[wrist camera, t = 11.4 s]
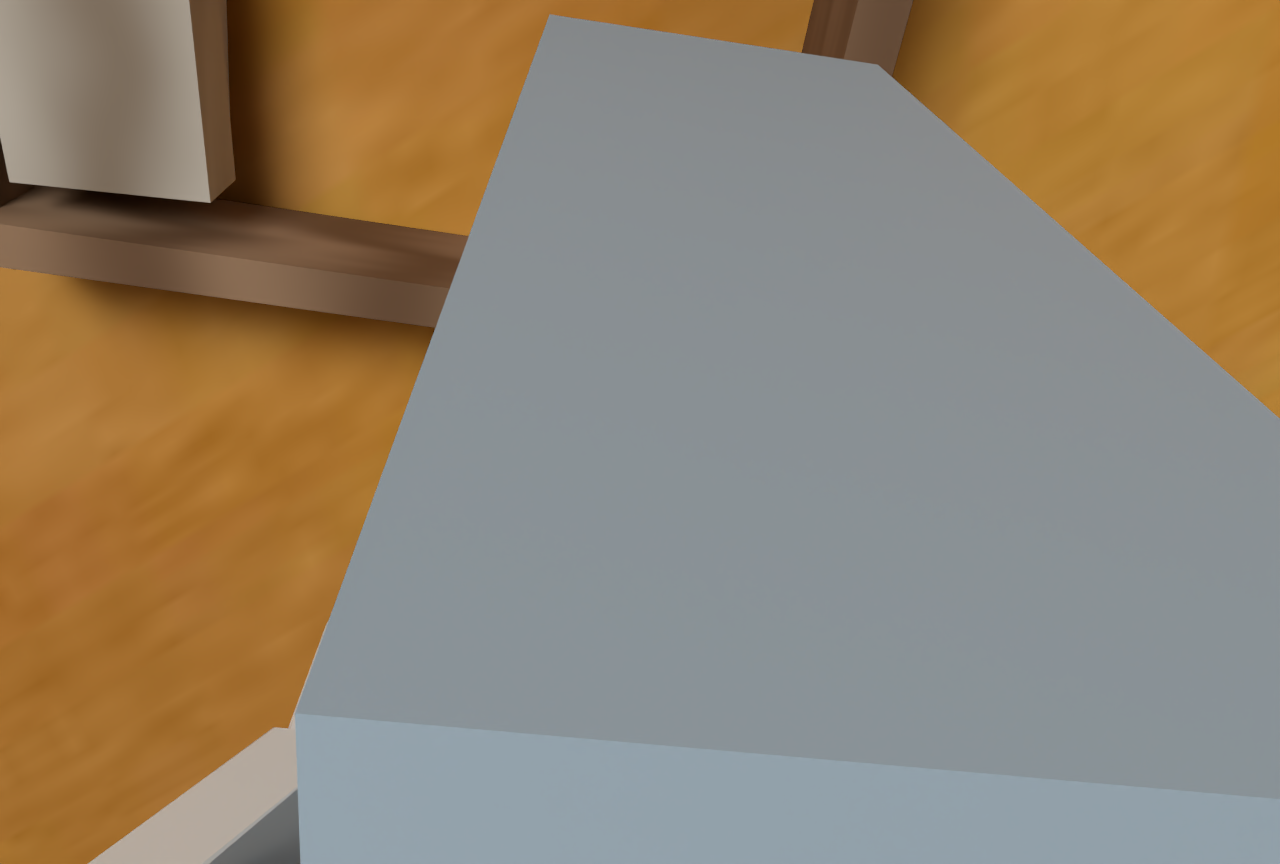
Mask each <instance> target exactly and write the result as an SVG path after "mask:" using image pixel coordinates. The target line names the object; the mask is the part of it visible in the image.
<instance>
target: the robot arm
mask: <svg viewBox="0 0 1280 864" xmlns="http://www.w3.org/2000/svg"><path fill="white" fill-rule="evenodd" d="M327 624H328V622H327ZM327 624H326V627H327ZM326 627H325V629H326ZM324 632H325V630H324ZM324 632H323V635H324ZM323 635H322V638H323ZM322 638H321V640H322ZM321 640H320V643H321ZM320 643H319V646H320ZM319 646H318V649H319ZM318 649H317V651H318ZM317 651H316V654H317ZM316 654H315V657H316ZM315 657H314V660H315ZM314 660H313V662H314ZM313 662H312V665H313ZM312 665H311V668H312ZM311 668H310V670H309V673H310V671H311ZM309 673H308V676H309ZM308 676H307V679H308ZM307 679H306V681H305V684H306V682H307ZM305 684H304V687H305ZM304 687H303V689H302V692H301V695H302V693H303V690H304ZM301 695H300V698H301ZM300 698H299V700H298V703H297V706H298V704H299V701H300ZM297 706H296V709H297ZM296 709H295V711H294V714H293V717H292V719H291V722H290V725H289V728H272V729H271V730H269V731H268V732H267V733H265V734H264V735H263V736H261V737H260V738H258V739H257V740H256V741H254V742H253V743H252V744H250V745H249V746H248V747H246V748H245V749H243V750H242V751H241V752H239V753H238V754H237V755H235V756H234V757H233V758H231V759H230V760H228V761H227V762H226V763H224V764H223V765H222V766H220V767H219V768H218V769H216V770H215V771H213V772H212V773H211V774H209V775H208V776H207V777H205V778H204V779H203V780H201V781H200V782H198V783H197V784H196V785H194V786H193V787H192V788H190V789H189V790H188V791H186V792H185V793H183V794H182V795H181V796H179V797H178V798H177V799H175V800H174V801H173V802H171V803H170V804H168V805H167V806H166V807H164V808H163V809H162V810H160V811H159V812H158V813H156V814H155V815H154V816H152V817H151V818H149V819H148V820H147V821H145V822H144V823H143V824H141V825H140V826H139V827H137V828H136V829H134V830H133V831H132V832H130V833H129V834H128V835H126V836H125V837H124V838H122V839H121V840H119V841H118V842H117V843H115V844H114V845H113V846H111V847H110V848H109V849H107V850H106V851H104V852H103V853H102V854H100V855H99V856H98V857H96V858H95V859H94V860H92V861H91V862H89V863H88V864H300V838H299V811H298V784H297V757H296V729H295V712H296Z"/></svg>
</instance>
